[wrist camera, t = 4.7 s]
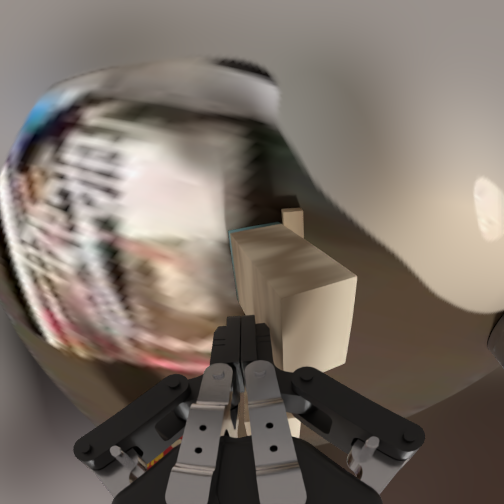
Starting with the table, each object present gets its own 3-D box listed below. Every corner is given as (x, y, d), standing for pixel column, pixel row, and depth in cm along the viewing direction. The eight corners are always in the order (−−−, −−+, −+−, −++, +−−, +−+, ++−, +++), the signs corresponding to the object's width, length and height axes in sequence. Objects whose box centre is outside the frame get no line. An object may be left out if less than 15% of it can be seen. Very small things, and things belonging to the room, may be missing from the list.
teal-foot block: (278, 221, 21) (357, 276, 12) (281, 288, 24) (344, 363, 15) (228, 230, 20) (281, 298, 11) (237, 299, 23) (283, 386, 14)
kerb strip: (300, 207, 21) (302, 210, 20) (300, 375, 28) (301, 382, 27) (281, 208, 21) (282, 212, 20) (287, 377, 28) (288, 384, 27)
